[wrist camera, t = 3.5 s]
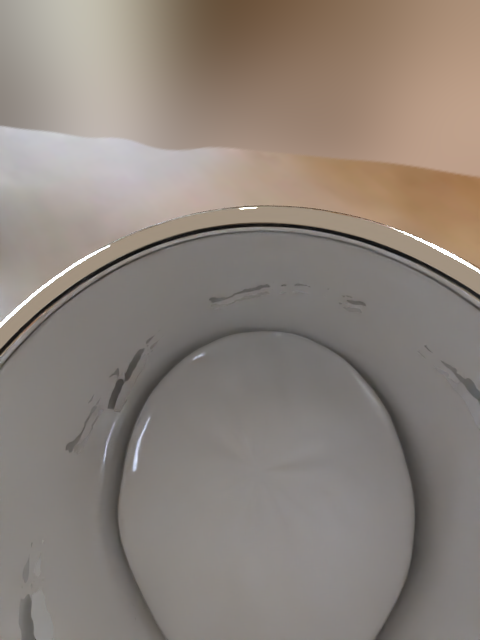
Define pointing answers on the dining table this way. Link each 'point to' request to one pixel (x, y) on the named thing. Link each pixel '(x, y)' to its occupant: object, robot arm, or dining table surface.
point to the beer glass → (244, 436)
